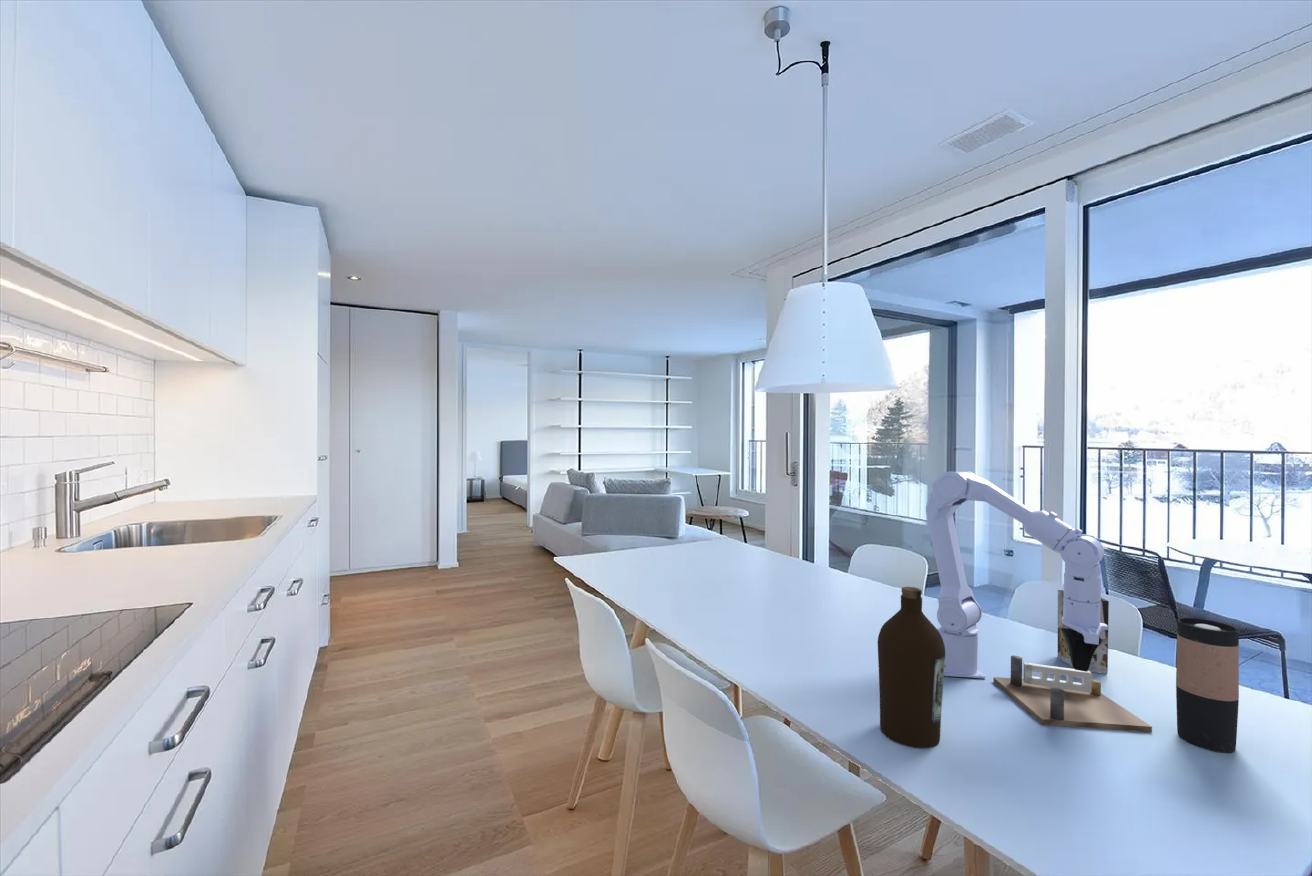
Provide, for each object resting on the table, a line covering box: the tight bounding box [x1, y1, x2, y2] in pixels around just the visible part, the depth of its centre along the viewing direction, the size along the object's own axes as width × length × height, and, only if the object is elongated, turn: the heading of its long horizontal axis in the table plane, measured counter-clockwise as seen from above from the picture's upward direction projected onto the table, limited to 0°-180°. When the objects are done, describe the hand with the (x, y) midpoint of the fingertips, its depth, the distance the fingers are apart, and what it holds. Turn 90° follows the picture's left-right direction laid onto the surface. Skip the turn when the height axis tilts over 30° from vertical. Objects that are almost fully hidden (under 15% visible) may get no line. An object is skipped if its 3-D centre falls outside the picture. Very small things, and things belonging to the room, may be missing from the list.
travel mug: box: [1175, 617, 1240, 754], centre depth 96 cm, size 8×8×20 cm
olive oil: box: [877, 586, 945, 749], centre depth 96 cm, size 11×11×25 cm
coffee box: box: [1057, 589, 1110, 675], centre depth 128 cm, size 9×6×16 cm
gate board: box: [993, 655, 1153, 733], centre depth 108 cm, size 18×18×6 cm
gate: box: [1022, 662, 1093, 693], centre depth 112 cm, size 11×1×4 cm, turn 69°
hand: (1080, 669), depth 108 cm, fingers closed
